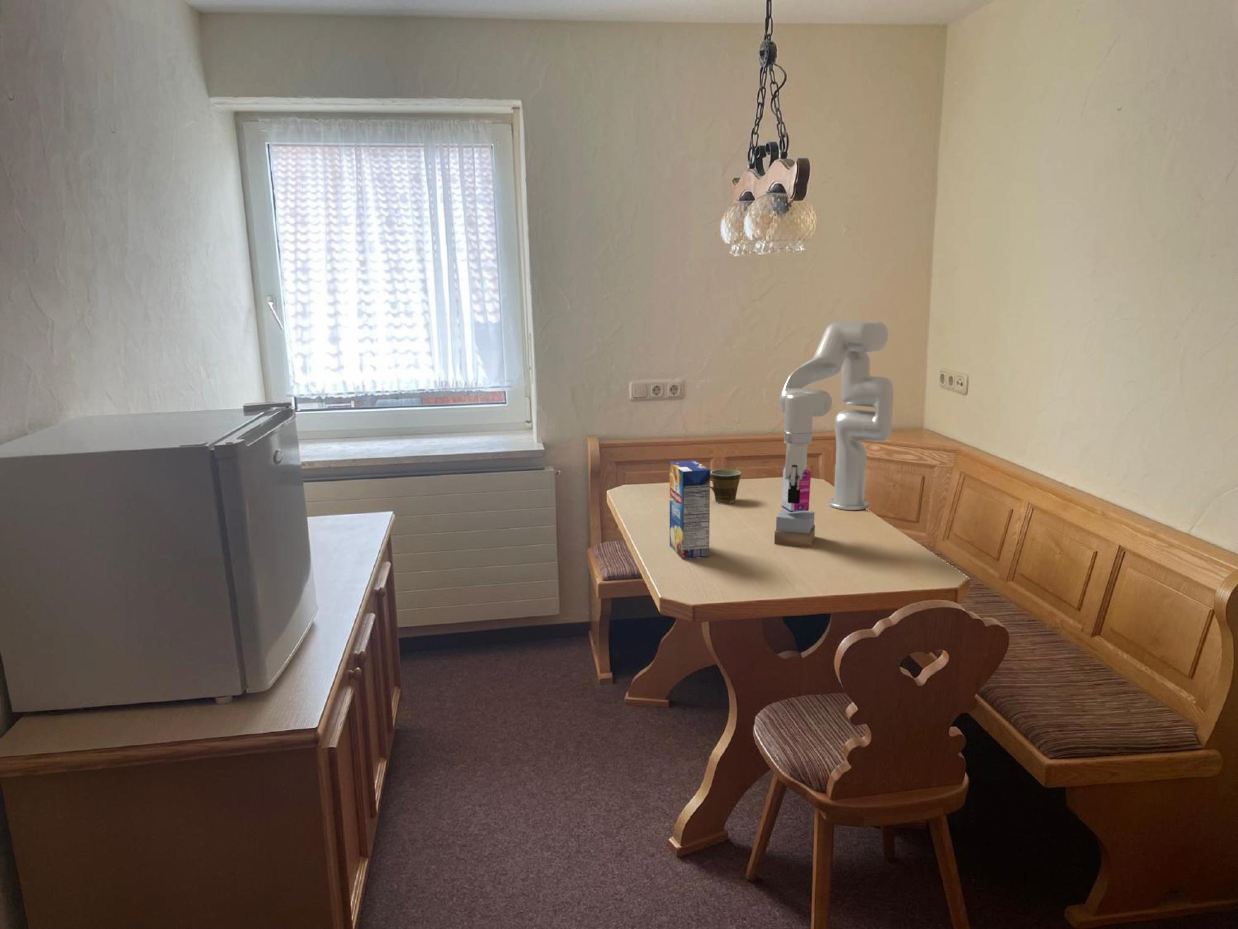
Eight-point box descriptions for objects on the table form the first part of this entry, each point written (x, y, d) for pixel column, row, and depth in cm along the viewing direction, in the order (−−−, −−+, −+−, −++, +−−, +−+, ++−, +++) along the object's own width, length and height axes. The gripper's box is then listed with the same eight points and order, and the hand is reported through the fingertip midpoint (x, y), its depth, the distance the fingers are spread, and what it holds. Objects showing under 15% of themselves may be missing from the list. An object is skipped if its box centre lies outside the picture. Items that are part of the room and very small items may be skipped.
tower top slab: (782, 522, 232) (783, 508, 231) (814, 525, 228) (814, 511, 227) (776, 530, 224) (776, 516, 223) (808, 534, 220) (809, 520, 219)
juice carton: (669, 545, 223) (669, 462, 218) (694, 543, 225) (695, 460, 220) (682, 559, 212) (683, 471, 207) (709, 557, 214) (710, 469, 208)
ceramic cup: (739, 497, 272) (740, 469, 270) (740, 505, 262) (741, 476, 260) (701, 497, 274) (701, 468, 271) (701, 504, 264) (701, 475, 262)
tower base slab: (779, 535, 233) (779, 521, 232) (814, 538, 229) (815, 524, 229) (774, 545, 224) (774, 531, 223) (810, 548, 220) (811, 534, 219)
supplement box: (790, 512, 221) (792, 472, 218) (781, 507, 226) (782, 468, 224) (809, 511, 222) (811, 471, 220) (799, 505, 228) (801, 466, 225)
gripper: (788, 431, 229) (786, 490, 233) (779, 443, 213) (777, 506, 217) (815, 432, 226) (812, 492, 230) (807, 444, 211) (805, 508, 215)
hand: (795, 498), depth 224 cm, fingers closed on supplement box, 7 cm apart
